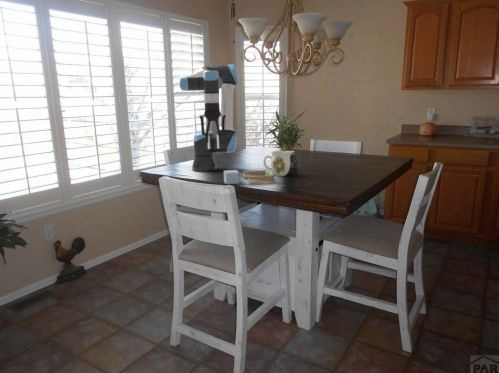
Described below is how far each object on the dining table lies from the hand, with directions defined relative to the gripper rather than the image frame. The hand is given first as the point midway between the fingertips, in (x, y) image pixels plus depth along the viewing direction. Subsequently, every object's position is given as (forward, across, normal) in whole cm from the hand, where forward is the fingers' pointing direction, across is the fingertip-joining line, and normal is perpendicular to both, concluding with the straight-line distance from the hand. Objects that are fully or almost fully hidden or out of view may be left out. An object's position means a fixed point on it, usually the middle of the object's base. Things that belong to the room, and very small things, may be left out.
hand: (213, 148), depth 206 cm
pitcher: (+19, +39, +12) cm, 45 cm away
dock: (+19, +23, 0) cm, 30 cm away
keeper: (+19, +9, 0) cm, 21 cm away
